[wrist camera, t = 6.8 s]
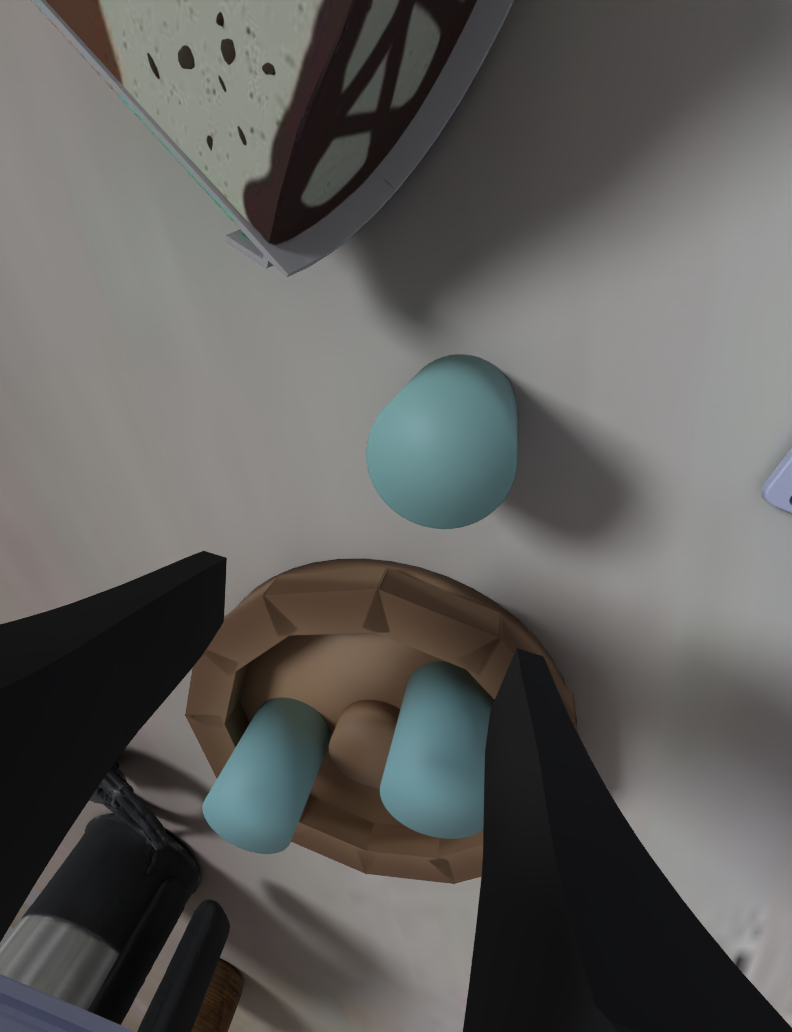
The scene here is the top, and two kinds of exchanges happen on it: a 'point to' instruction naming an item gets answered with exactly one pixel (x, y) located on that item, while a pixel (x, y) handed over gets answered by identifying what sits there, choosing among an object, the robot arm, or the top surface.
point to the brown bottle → (220, 1000)
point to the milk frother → (119, 920)
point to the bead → (269, 777)
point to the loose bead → (446, 444)
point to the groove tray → (355, 692)
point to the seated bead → (439, 753)
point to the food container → (288, 100)
